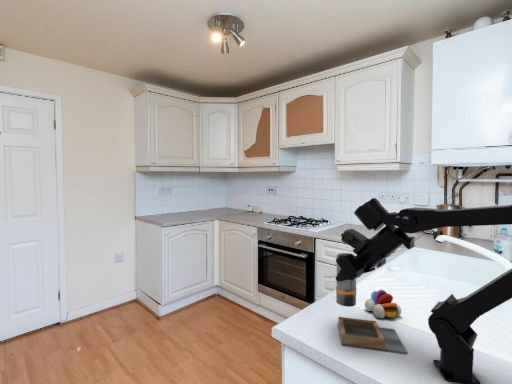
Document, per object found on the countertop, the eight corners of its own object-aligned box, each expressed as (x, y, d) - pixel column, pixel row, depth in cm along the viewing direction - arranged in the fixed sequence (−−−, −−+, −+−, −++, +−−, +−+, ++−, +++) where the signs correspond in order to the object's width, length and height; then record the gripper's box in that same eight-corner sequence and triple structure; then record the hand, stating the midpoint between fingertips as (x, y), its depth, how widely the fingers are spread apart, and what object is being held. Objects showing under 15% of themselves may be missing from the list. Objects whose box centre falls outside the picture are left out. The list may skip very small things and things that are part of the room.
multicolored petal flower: (381, 322, 82) (382, 298, 82) (360, 308, 91) (361, 286, 91) (405, 319, 84) (406, 295, 84) (382, 306, 93) (383, 284, 93)
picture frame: (407, 354, 67) (407, 343, 67) (341, 345, 70) (341, 335, 70) (394, 330, 77) (394, 321, 77) (337, 323, 80) (338, 315, 80)
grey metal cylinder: (358, 307, 75) (359, 257, 75) (337, 306, 76) (338, 257, 76) (353, 299, 80) (354, 253, 80) (334, 298, 81) (334, 252, 81)
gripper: (375, 217, 81) (340, 249, 89) (343, 223, 68) (305, 259, 76) (404, 249, 76) (363, 280, 84) (375, 261, 63) (331, 296, 71)
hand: (341, 277), depth 79 cm, fingers closed on grey metal cylinder, 5 cm apart
